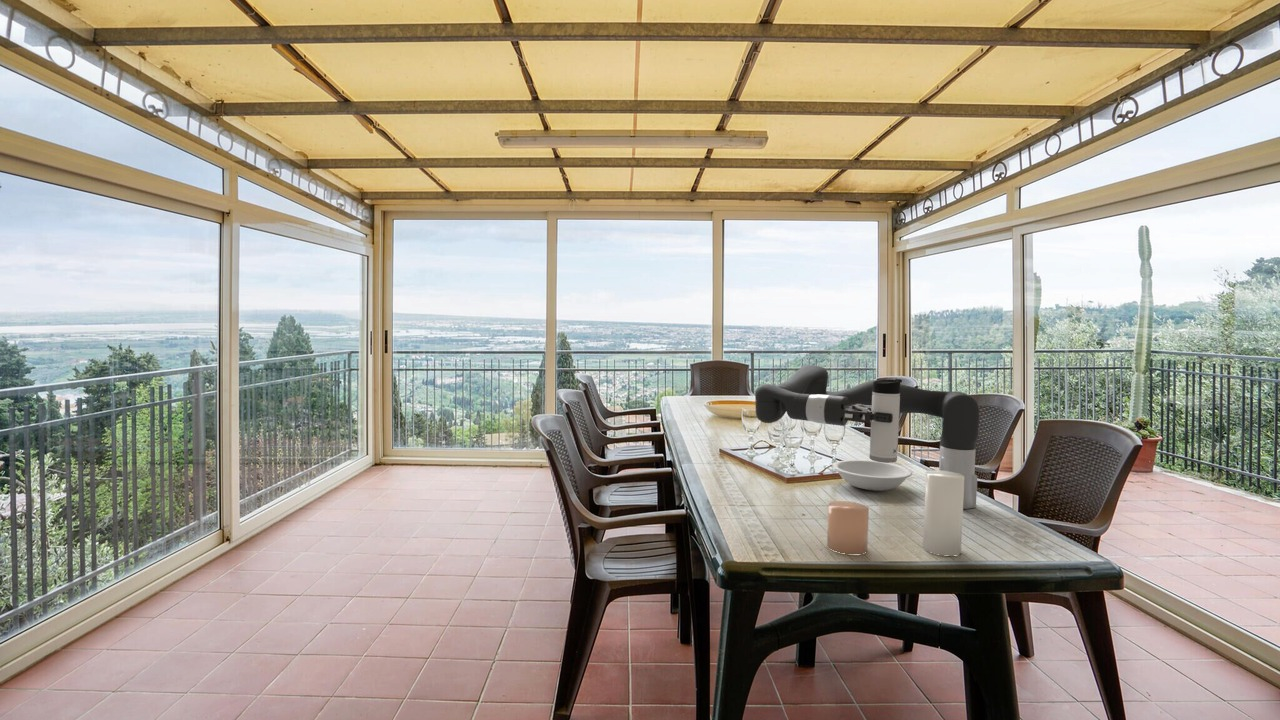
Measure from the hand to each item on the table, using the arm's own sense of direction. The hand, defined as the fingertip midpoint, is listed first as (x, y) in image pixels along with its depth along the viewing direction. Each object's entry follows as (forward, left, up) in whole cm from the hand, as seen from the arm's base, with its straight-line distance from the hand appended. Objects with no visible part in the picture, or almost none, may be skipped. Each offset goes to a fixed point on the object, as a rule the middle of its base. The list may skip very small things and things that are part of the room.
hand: (895, 416), depth 142 cm
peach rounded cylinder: (+12, +7, -31) cm, 34 cm away
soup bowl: (-8, -48, -31) cm, 58 cm away
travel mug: (+2, -1, -11) cm, 11 cm away
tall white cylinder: (-10, +5, -31) cm, 33 cm away
